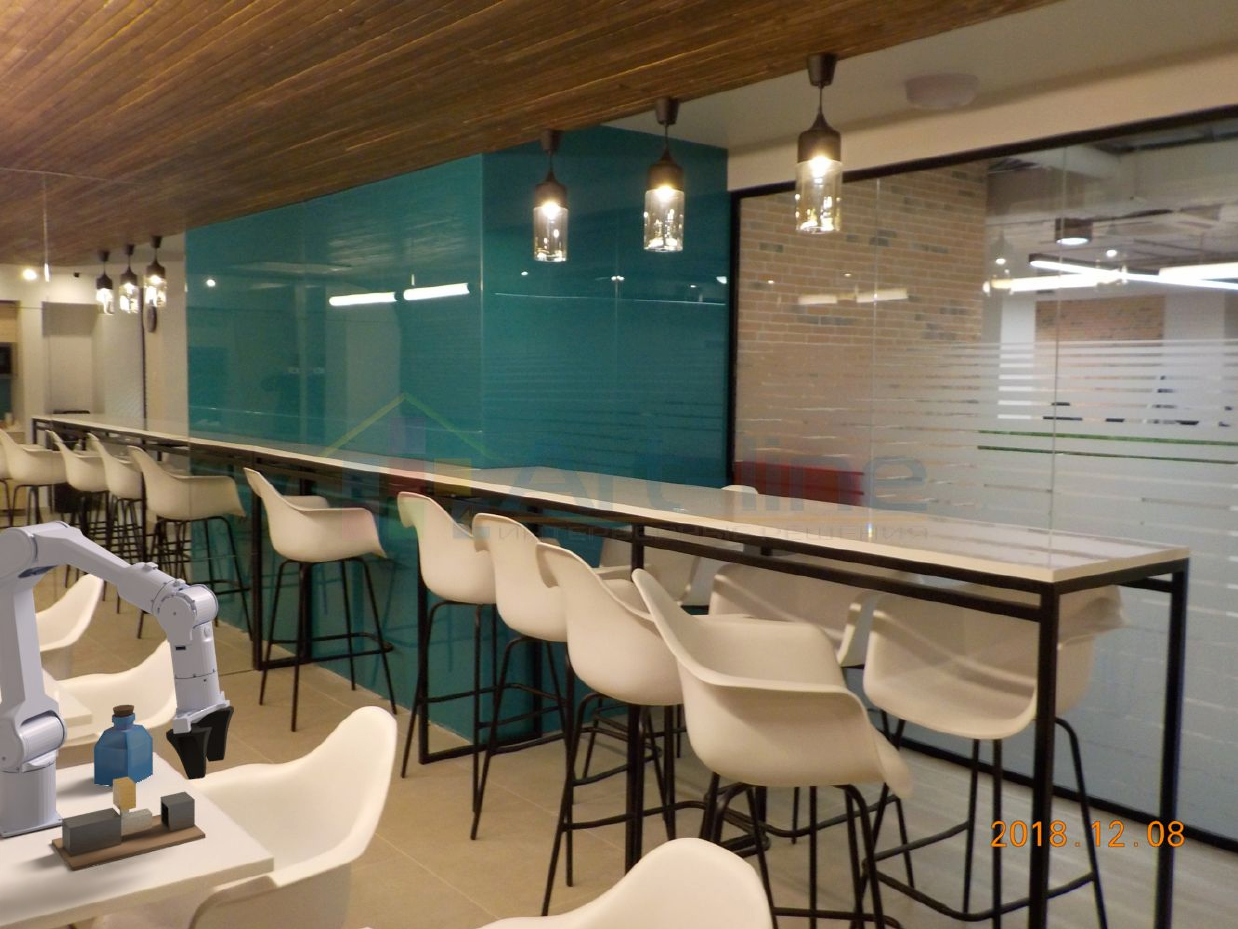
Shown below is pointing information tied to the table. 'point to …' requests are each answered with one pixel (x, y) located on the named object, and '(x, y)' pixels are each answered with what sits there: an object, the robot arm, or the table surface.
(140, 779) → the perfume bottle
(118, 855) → the walnut board
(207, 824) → the table surface
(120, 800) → the pale bar
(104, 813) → the sleeve and socket
